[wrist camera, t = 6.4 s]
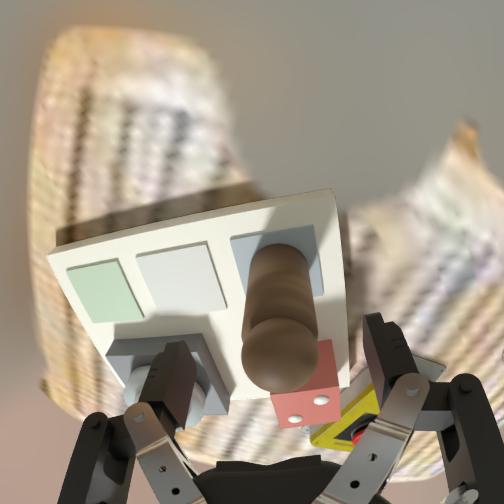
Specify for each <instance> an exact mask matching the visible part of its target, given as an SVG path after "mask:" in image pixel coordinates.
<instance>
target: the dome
mask: <svg viewBox="0 0 504 504" xmlns="http://www.w3.org/2000/svg"><path fill="white" fill-rule="evenodd" d="M150 366H151V365H147V366H141V367H138V368H136V369H135V370H133V371H132V373H131V374H130V377H129V379H128V381H127V384H126V386H125V388H124V391H123V397H124V400H125V402H126V403H127V405H128V406H129V407H130V406H131V405H133V404H135V403H138V400H139V397H140V394H141V391H142V388H143V386H144V383H145V380H146V378H147V374H148V372H149V371H150ZM204 405H205V393H204V391H203V389H202V388H201V387H200V385H199V384H198V383H197V382H196V381H195V383H194V388H193V392H192V397H191V402H190V406H189V411H188V415H187V420H186V425H185V428H186V427H191V426H194V425H196V424H197V423H199V421H200V420H201V418H202V414H203V410H204Z"/></svg>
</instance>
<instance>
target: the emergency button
mask: <svg viewBox="0 0 504 504" xmlns="http://www.w3.org/2000/svg"><path fill="white" fill-rule="evenodd" d="M412 356H413V355H412ZM413 359H414V361H415V364H416V366H417V369H418V371H419V373H420V374H421V375H423V376H424V377H425V378H426V379H427V380H429V381H432V382H436V381H437V380H438V379H439V378H441V377H442V375H443V374H444V373H445V370H446V368H445V367H444V366H443V365H440V364H437V363H434V362H431V361H428V360H425V359H422V358H419V357H416V356H413ZM340 410H341V421H337V422H331V423H324V424H316V425H308V426H303V427H302V428H301V430H302V432H303V433H306V434H309V435H310V442H311V444H312V445H313V446H316V447H322V448H328V449H334V450H341V451H348V452H352V450H353V449H354V447H355V446H356V444H357V442H358V441H359V439H360V438H361V436H362V435H363V433H364V431H365V430H366V428H367V427H368V425H369V424H370V423H371V422H372V421H374V420H375V419H376V418H377V416H378V414H379V412H380V410H379V405H378V401H377V397H376V394H375V390H374V386H373V382H372V378H371V374H370V371H369V367H368V364H367V365H366V366H365V367H364V368H363V369H362V370H361V371H360V372H359V373H358V375H357V376H356V377H355V378H354V379H353V380H352V381H351V382H350V387H345V388H344V389H343V390H342V391H341V392H340Z"/></svg>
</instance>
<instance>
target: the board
mask: <svg viewBox="0 0 504 504" xmlns="http://www.w3.org/2000/svg"><path fill="white" fill-rule="evenodd" d="M277 243H282V244H288V245H291V246H293V247H295V248H297V249H298V250H299V251H301V252H302V254H303V255H304V256H305V258H306V260H307V263H308V269H309V275H310V281H311V287H312V293H313V299H314V306H315V312H316V319H317V326H318V340H317V341H323V340H329V339H332V345H333V350H334V356H335V362H336V368H337V374H338V381H339V388H344V387H350V377H349V345H348V325H347V308H346V294H345V281H344V270H343V259H342V249H341V240H340V231H339V222H338V214H337V206H336V199H335V195H334V193H333V191H332V189H331V188H330V189H324V190H318V191H312V192H306V193H300V194H294V195H289V196H283V197H278V198H272V199H267V200H261V201H256V202H251V203H246V204H240V205H235V206H230V207H225V208H220V209H215V210H210V211H206V212H201V213H196V214H191V215H187V216H182V217H177V218H173V219H168V220H164V221H159V222H155V223H150V224H146V225H142V226H137V227H133V228H129V229H125V230H121V231H116V232H112V233H108V234H104V235H100V236H96V237H92V238H88V239H84V240H80V241H76V242H73V243H69V244H65V245H61V246H57V247H55V248H54V249H53V250H52V251H51V252H50V253H49V254H47V255H46V257H47V259H48V261H49V264H50V266H51V268H52V270H53V272H54V274H55V276H56V278H57V280H58V282H59V284H60V286H61V287H62V289H63V291H64V293H65V295H66V297H67V299H68V301H69V302H70V304H71V306H72V308H73V310H74V311H75V313H76V315H77V317H78V318H79V320H80V322H81V323H82V325H83V327H84V329H85V330H86V332H87V334H88V335H89V337H90V338H91V340H92V342H93V343H94V345H95V346H96V348H97V350H98V351H99V353H100V354H101V356H102V357H103V359H104V360H105V362H106V363H107V365H108V366H109V368H110V369H111V371H112V372H113V374H114V375H115V376H116V378H117V379H118V381H119V382H120V384H121V385H122V386H123V388H125V386H126V384H127V381H128V379H129V377H130V374H131V373H132V371H133V370H135V369H136V368H138V367H141V366H147V365H151V363H152V361H153V359H154V358H155V357H156V356H157V355H158V353H159V352H164V349H165V346H166V343H167V342H168V341H175V340H184V341H185V342H186V344H187V346H188V348H189V350H190V352H191V354H192V356H193V358H194V360H195V363H196V367H197V374H196V379H195V381H196V382H197V383H198V384H199V385H200V387H201V388H202V389H203V391H204V393H205V405H204V410H203V414H202V415H228V411H229V404H230V400H243V399H257V398H268V397H270V392H268V391H265V390H263V389H261V388H259V387H257V386H256V385H255V384H254V383H252V381H251V380H250V379H249V378H248V377H247V375H246V373H245V371H244V369H243V366H242V361H241V350H242V345H243V342H242V338H241V332H242V324H243V316H244V308H245V300H246V292H247V285H248V277H249V269H250V263H251V260H252V258H253V256H254V255H255V254H256V253H257V252H258V251H259V250H260V249H261V248H263V247H265V246H268V245H271V244H277Z"/></svg>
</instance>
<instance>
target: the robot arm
mask: <svg viewBox="0 0 504 504" xmlns="http://www.w3.org/2000/svg"><path fill="white" fill-rule="evenodd" d="M363 347H364V353H365V356H366V360H367V363H368V367H369V371H370V374H371V378H372V382H373V386H374V390H375V394H376V397H377V401H378V405H379V410H380V412H379V414H378V416H377V418H376V419H375V420H374V421H372V422H371V423H370V424H369V425H368V427H367V428H366V430H365V431H364V433H363V435H362V436H361V438H360V439H359V441H358V442H357V444H356V446H355V447H354V449H353V450H352V452H351V453H350V455H349V456H348V458H347V459H346V461H345V462H344V464H343V465H339V464H336V463H333V462H329V461H321V455H313V456H305V457H295V458H291V459H288V460H285V461H282V462H279V463H275V464H272V465H260V464H254V463H249V462H244V461H217V463H216V468H213V469H210V470H207V471H205V472H203V473H201V474H199V473H198V472H197V470H196V469H195V468H194V466H193V465H192V464H191V462H190V460H189V459H188V457H187V456H186V454H185V453H184V451H183V450H182V448H181V446H180V445H179V443H178V442H177V440H176V438H175V437H174V435H175V431H184V429H185V425H186V420H187V415H188V411H189V406H190V402H191V397H192V392H193V388H194V383H195V379H196V374H197V367H196V363H195V360H194V358H193V356H192V354H191V352H190V350H189V348H188V346H187V344H186V342H185V341H184V340H175V341H168V342H167V343H166V346H165V349H164V352H159V353H158V355H157V356H156V357H155V358H154V359H153V361H152V363H151V366H150V371H149V372H148V374H147V378H146V380H145V383H144V386H143V388H142V391H141V394H140V397H139V400H138V403H135V404H133V405H131V406H130V407H128V408H127V410H126V411H125V413H124V415H120V416H116V417H112V418H108V417H107V416H106V415H105V414H104V413H102V412H95V413H92V414H90V415H89V416H88V417H87V418H86V419H85V420H84V422H83V425H82V428H81V430H80V433H79V436H78V439H77V442H76V445H75V448H74V451H73V454H72V457H71V460H70V463H69V466H68V469H67V472H66V476H65V479H64V482H63V485H62V489H61V492H60V496H59V499H58V503H57V504H126V503H127V497H128V492H129V487H130V482H131V477H132V473H133V468H134V463H135V459H136V458H137V460H138V462H139V464H140V466H141V468H142V470H143V472H144V474H145V476H146V478H147V480H148V482H149V484H150V486H151V488H152V490H153V492H154V494H155V495H156V497H157V499H158V501H159V503H160V504H391V503H390V502H389V501H387V500H386V499H385V498H383V497H382V496H381V493H382V492H383V490H384V489H385V487H386V485H387V484H388V482H389V480H390V479H391V477H392V475H393V473H394V471H395V469H396V467H397V465H398V463H399V461H400V459H401V458H402V456H403V454H404V452H405V450H406V448H407V446H408V444H409V442H410V440H411V438H412V436H413V434H414V432H415V431H436V432H437V436H438V440H439V445H440V449H441V453H442V458H443V463H444V467H445V472H446V477H447V482H448V488H449V495H448V496H447V497H446V498H445V499H444V500H443V501H441V503H440V504H504V443H503V441H502V438H501V434H500V431H499V428H498V426H497V423H496V420H495V417H494V414H493V412H492V409H491V406H490V404H489V401H488V399H487V396H486V394H485V391H484V389H483V386H482V384H481V382H480V380H479V379H478V378H477V377H476V376H474V375H472V374H468V373H463V374H459V375H457V376H455V377H454V378H453V379H452V381H451V382H432V381H429V380H427V379H426V378H425V377H424V376H423V375H421V374H420V373H419V371H418V369H417V366H416V364H415V361H414V359H413V356H412V354H411V351H410V349H409V346H408V344H407V342H406V339H405V338H404V335H403V332H402V330H401V328H400V327H399V326H398V325H396V324H395V323H394V322H393V321H392V322H387V323H384V321H383V318H382V316H381V313H380V312H377V313H372V314H367V315H363ZM502 360H503V364H504V352H503V358H502Z"/></svg>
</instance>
